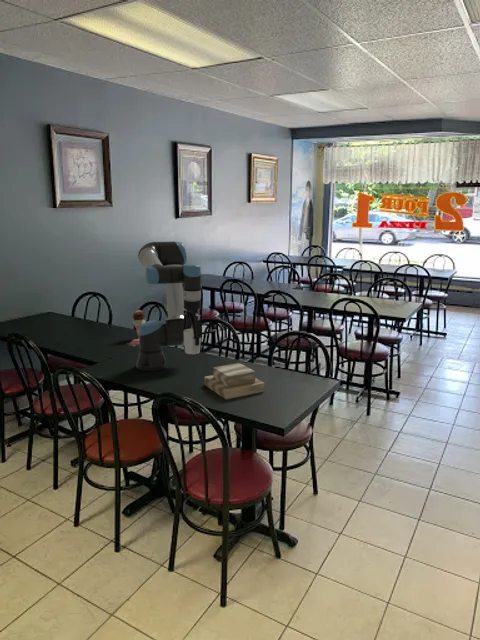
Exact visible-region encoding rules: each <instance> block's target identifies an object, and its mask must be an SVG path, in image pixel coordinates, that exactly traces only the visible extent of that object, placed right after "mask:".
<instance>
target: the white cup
mask: <svg viewBox="0 0 480 640" xmlns="http://www.w3.org/2000/svg"><path fill="white" fill-rule="evenodd" d="M183 334H184V345H183V346H184V353H185V354H188V355H198V354H199V353H200V351H201V341H202V339H201V338H199V352H196V353H194V352H193V337H194V333H193V328H192V329H185V330H184V331H183Z"/></svg>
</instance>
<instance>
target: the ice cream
mask: <svg viewBox="0 0 480 640" xmlns="http://www.w3.org/2000/svg"><path fill="white" fill-rule="evenodd" d="M145 317H146V315H145V314H144V312H143V311H142V310H141V309H138V310H136V311H134V313H133V316H132V318H133V321H132V324H133V326H134V328H135V329H136V335H137V336H138V337H139V327H140V325H141V324H143V323H145V322H146V320H145ZM126 344H129V345H130V346H131V347H132V346H133V347H136V346H139V338H136V339H135V338H134V339H132V340H131V341H130V342H127V343H126Z"/></svg>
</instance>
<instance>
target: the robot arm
mask: <svg viewBox="0 0 480 640" xmlns="http://www.w3.org/2000/svg"><path fill="white" fill-rule="evenodd" d="M137 254H138V255H137V256H138V257H137V258H138V261H139V263H140V264H141V265H142V266H144V267H145V271H144V272H145V282H146V284H148V285H162V284H163V285H165V291H166V295H165V296H166V304H167V305H166V306H167V307H166V308H167V317H166V319H165V321H164V322H165V323H163V322H162V320H149V321H145V323H143V324H141V325H140V327H139V336H138V339H139V345H138V346H139V352H138V357H137V360H136V362H135V363H136V367H135V368H136V369H138V370H140V371H142V372H143V371H144V372H157V371H161V370H163V369H165V368H167V360H166V357H165V355H164V351H163V347H175V346H184V334H183V331H184V330H185V329H193V333H194V337H193V352H194V353H196V352H199V338H203V329H202V328H203V327H202V315H201V314H199V310H200V309H201V308H202V305H201V304H202V301H201V299H202V287H201V286H202V283H201V280H202V277H201V275H202V270H201V268H202V267H201V265H200V264H198V263H188V264H187V260H188V258H187V250H186V247H185V245H184V243H183V242H181V241H174V240H173V241H151V242H147V243H145V244H144V245H143V246H141V248H139V250H138V253H137ZM199 353H200V352H199Z"/></svg>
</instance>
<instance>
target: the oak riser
mask: <svg viewBox="0 0 480 640" xmlns="http://www.w3.org/2000/svg"><path fill="white" fill-rule="evenodd" d="M256 374H257V373H256V371H255V370H254V369H251V368H250V367H248V366H246V365H244V364H242V363H240V362H237V363H230V364H226V365H219V366H215V367H213V374H212V375H207V376H204V386H206V387H207V388H209V389H210V390H211V391H213V393H216V394H217V395H219V396H220V397H221V398H223V399H224V400H230V399H234V398H239V397H245V396H248V395H253V394H257V393H264V392H265V382H264V381H262V380H260V379H258V378H257V377H256Z"/></svg>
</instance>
